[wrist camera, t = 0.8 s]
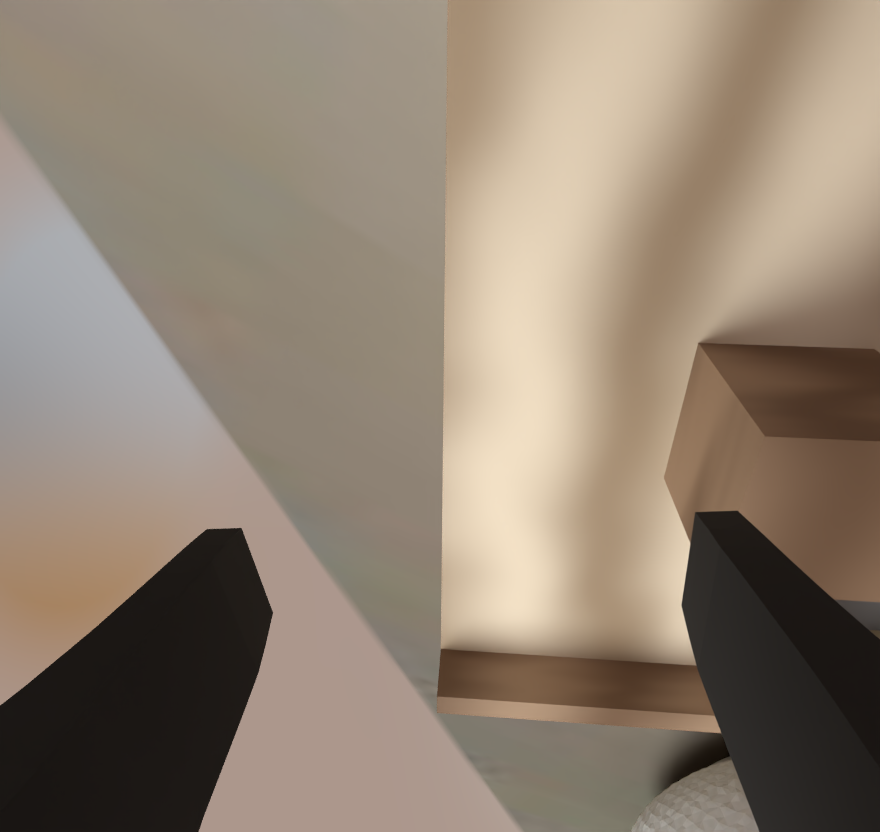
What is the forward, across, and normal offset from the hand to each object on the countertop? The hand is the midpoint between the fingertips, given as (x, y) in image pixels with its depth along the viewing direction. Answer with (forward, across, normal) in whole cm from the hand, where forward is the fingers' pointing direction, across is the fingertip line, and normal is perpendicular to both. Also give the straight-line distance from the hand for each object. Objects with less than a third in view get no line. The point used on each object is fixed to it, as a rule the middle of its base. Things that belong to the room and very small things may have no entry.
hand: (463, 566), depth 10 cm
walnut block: (+8, -8, +3) cm, 11 cm away
